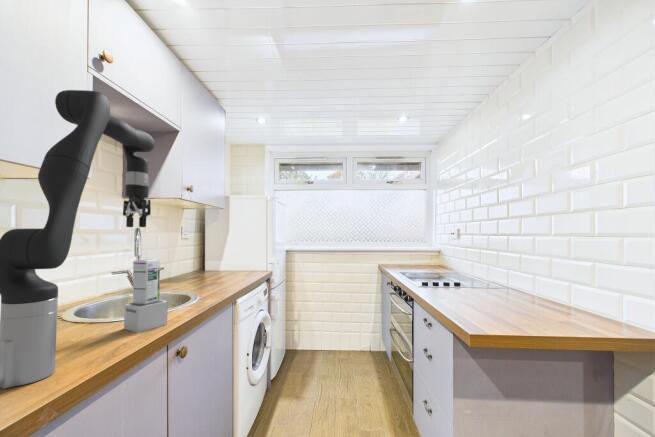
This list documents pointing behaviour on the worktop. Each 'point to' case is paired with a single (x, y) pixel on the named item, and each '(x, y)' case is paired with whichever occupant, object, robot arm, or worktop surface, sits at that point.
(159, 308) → the grey storage bin
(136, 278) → the syrup box
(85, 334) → the worktop surface
